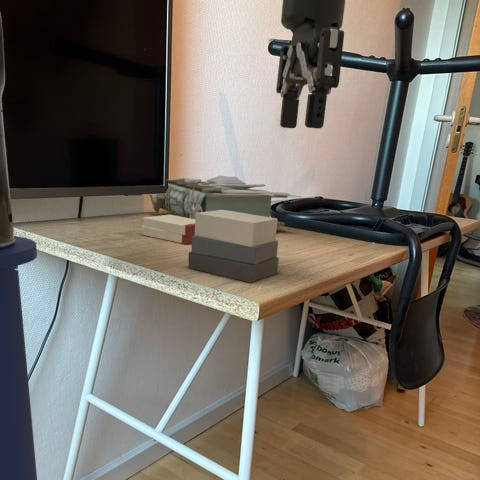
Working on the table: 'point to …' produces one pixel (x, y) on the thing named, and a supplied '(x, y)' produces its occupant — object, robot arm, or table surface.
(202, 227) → the white book
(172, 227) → the white stack
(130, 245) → the table surface
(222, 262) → the grey stack
